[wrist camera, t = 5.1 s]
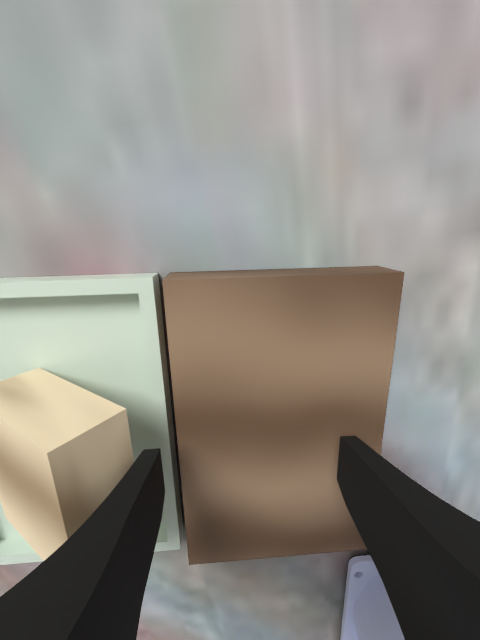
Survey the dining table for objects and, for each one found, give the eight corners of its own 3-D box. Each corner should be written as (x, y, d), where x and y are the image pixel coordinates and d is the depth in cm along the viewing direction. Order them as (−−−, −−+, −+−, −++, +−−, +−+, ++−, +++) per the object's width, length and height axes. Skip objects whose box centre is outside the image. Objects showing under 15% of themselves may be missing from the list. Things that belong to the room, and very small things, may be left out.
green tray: (183, 527, 17) (180, 549, 16) (-8, 543, 16) (-24, 566, 15) (158, 272, 13) (152, 277, 12) (-96, 280, 12) (-128, 286, 11)
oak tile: (145, 543, 12) (84, 607, 10) (64, 478, 15) (5, 517, 13) (126, 408, 10) (47, 453, 8) (38, 367, 13) (-34, 392, 11)
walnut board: (351, 514, 18) (367, 548, 16) (192, 527, 17) (189, 564, 15) (377, 265, 14) (404, 272, 12) (170, 272, 13) (161, 280, 11)
